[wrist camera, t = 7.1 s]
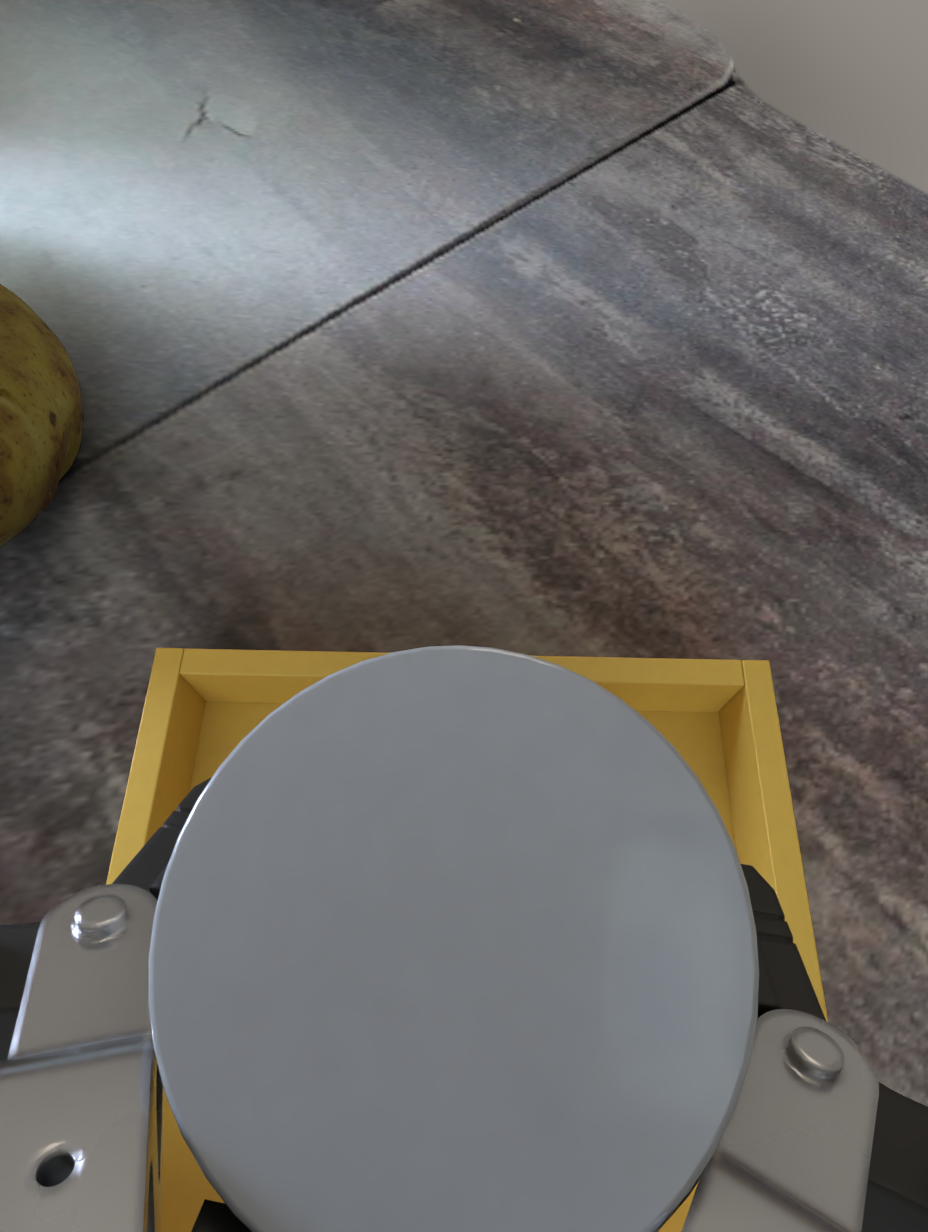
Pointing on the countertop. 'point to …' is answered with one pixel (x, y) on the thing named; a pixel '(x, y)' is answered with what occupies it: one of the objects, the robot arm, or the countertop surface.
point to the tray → (655, 687)
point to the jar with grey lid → (453, 958)
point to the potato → (33, 415)
